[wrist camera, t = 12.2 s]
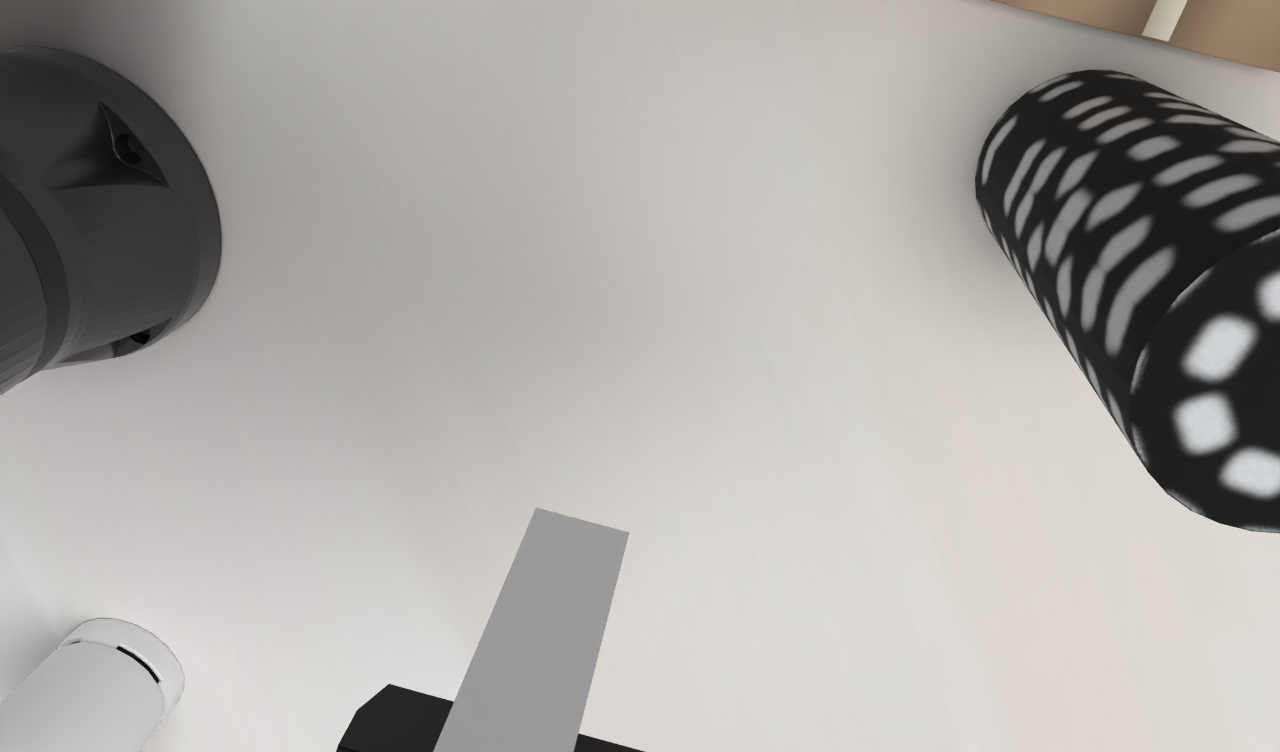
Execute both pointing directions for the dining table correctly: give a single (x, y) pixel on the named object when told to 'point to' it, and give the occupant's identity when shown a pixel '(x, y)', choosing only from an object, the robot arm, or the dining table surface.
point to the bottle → (93, 693)
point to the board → (1183, 24)
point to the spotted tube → (1154, 274)
